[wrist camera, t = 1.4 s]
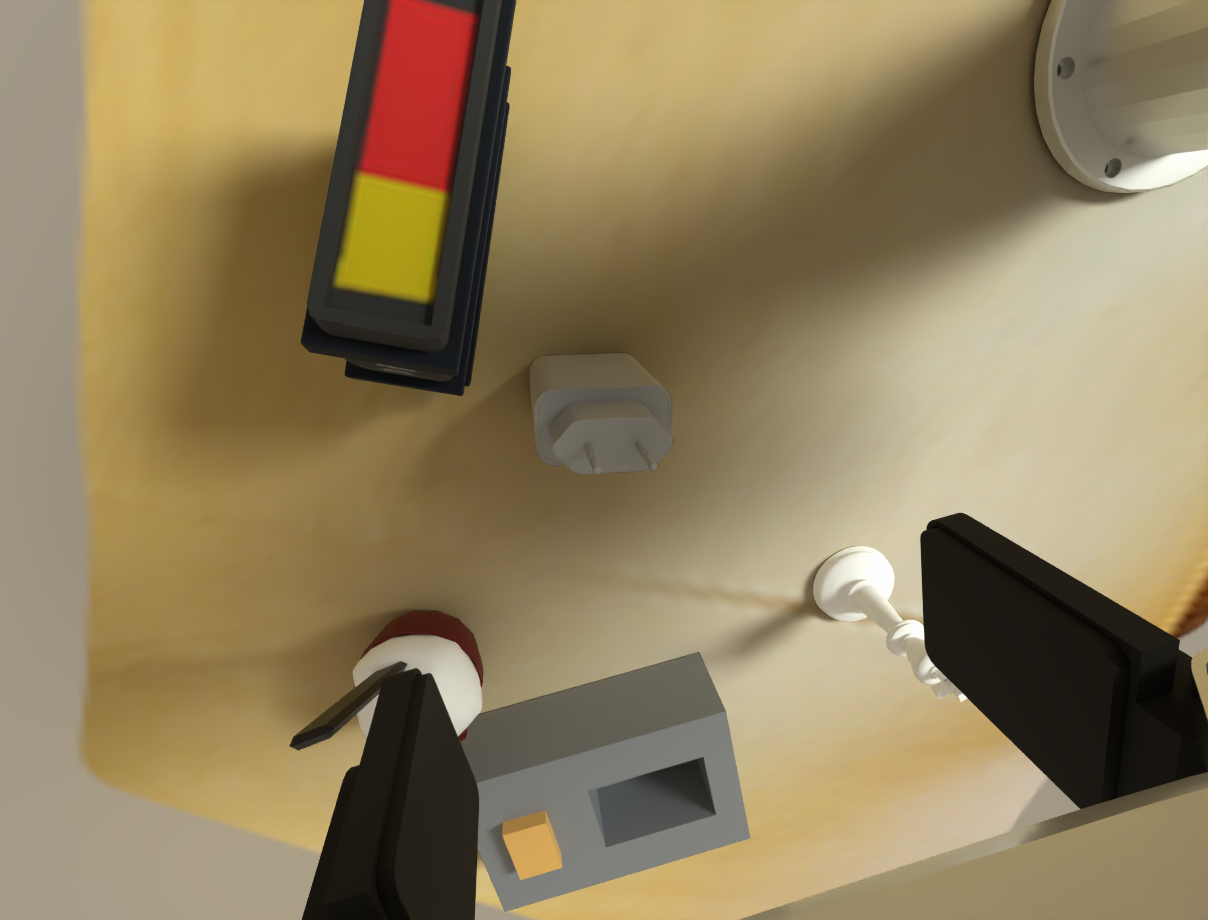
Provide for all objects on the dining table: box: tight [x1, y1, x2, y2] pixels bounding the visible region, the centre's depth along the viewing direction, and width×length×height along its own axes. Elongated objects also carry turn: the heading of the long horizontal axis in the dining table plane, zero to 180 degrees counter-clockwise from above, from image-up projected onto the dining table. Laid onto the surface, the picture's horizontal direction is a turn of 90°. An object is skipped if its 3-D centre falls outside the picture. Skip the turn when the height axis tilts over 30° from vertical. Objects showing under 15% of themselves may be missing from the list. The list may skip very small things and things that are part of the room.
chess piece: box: [813, 546, 967, 702], centre depth 33 cm, size 5×5×10 cm
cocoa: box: [290, 611, 483, 750], centre depth 29 cm, size 10×6×12 cm
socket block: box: [460, 653, 750, 912], centre depth 36 cm, size 15×10×6 cm, turn 103°
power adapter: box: [529, 353, 674, 474], centre depth 25 cm, size 3×5×12 cm, turn 91°
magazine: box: [301, 0, 516, 396], centre depth 22 cm, size 4×13×15 cm, turn 169°
